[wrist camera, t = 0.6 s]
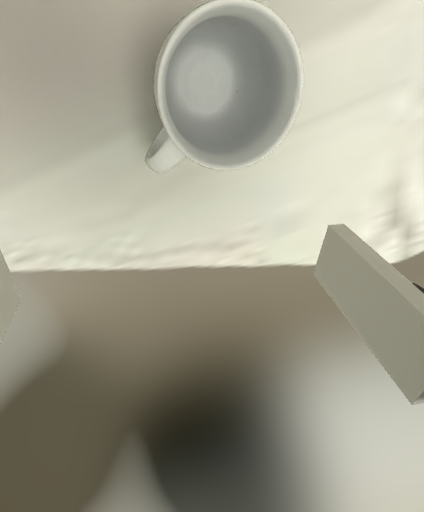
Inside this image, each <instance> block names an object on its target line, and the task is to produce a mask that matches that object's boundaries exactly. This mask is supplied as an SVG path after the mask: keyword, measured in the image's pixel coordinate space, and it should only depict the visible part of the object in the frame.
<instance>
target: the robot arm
mask: <svg viewBox="0 0 424 512" xmlns="http://www.w3.org/2000/svg"><path fill="white" fill-rule="evenodd" d="M313 274H314V275H315V277H316V278H317V280H318V281H319V282H320V284H321V285H322V286H323V288H324V289H325V290H326V292H327V293H328V294H329V295H330V297H331V298H332V300H333V301H334V302H335V304H336V305H337V306H338V307H339V309H340V310H341V312H342V313H343V314H344V315H345V317H346V318H347V320H348V321H349V322H350V323H351V325H352V326H353V327H354V329H355V330H356V331H357V333H358V334H359V335H360V337H361V338H362V339H363V341H364V342H365V343H366V345H367V346H368V347H369V348H370V350H371V351H372V353H373V354H374V355H375V357H376V358H377V359H378V361H379V362H380V363H381V365H382V366H383V367H384V368H385V370H386V371H387V373H388V374H389V375H390V376H391V378H392V379H393V380H394V382H395V383H396V384H397V386H398V387H399V388H400V389H401V391H402V392H403V394H404V395H405V396H406V398H407V399H408V400H409V402H410V403H411V404H412V405H415V404H419V403H424V289H423V288H422V287H420V286H418V285H416V284H415V283H411V282H410V281H409V280H407V279H406V278H405V277H404V276H403V275H402V274H401V273H400V272H398V271H397V270H396V269H395V268H394V267H393V266H391V265H390V264H389V263H388V262H387V261H386V260H385V259H383V258H382V257H381V256H380V255H379V254H378V253H377V252H375V251H374V250H373V249H372V248H371V247H370V246H369V245H367V244H366V243H365V242H364V241H363V240H362V239H361V238H359V237H358V236H357V235H356V234H355V233H354V232H353V231H351V230H350V229H349V228H348V227H347V226H346V225H344V224H339V225H328V229H327V232H326V235H325V238H324V241H323V244H322V248H321V251H320V254H319V257H318V260H317V264H316V267H315V270H314V273H313ZM21 300H22V298H21V296H20V294H19V292H18V289H17V287H16V285H15V282H14V280H13V278H12V276H11V273H10V271H9V269H8V266H7V264H6V262H5V259H4V257H3V255H2V253H1V250H0V343H1V341H2V339H3V337H4V334H5V333H6V331H7V329H8V327H9V325H10V322H11V320H12V318H13V316H14V314H15V312H16V310H17V308H18V306H19V304H20V302H21Z"/></svg>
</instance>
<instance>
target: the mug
mask: <svg viewBox="0 0 424 512" xmlns="http://www.w3.org/2000/svg"><path fill="white" fill-rule="evenodd" d="M303 85H304V73H303V64H302V58H301V54H300V51H299V48H298V45H297V42H296V40H295V38H294V36H293V34H292V32H291V30H290V29H289V27H288V26H287V24H286V23H285V22H284V21H283V19H282V18H281V17H280V16H279V15H278V14H277V13H276V12H274V11H273V10H272V9H270V8H269V7H267V6H266V5H264V4H262V3H260V2H258V1H255V0H212V1H209V2H207V3H205V4H203V5H201V6H199V7H197V8H196V9H194V10H193V11H192V12H190V13H189V14H187V15H186V16H185V17H183V18H182V19H181V20H180V22H179V23H177V24H176V25H175V26H174V28H173V29H172V30H171V31H170V33H169V35H168V36H167V37H166V39H165V42H164V43H163V45H162V48H161V50H160V51H159V56H158V57H157V63H156V65H155V72H154V92H155V94H154V96H155V100H156V106H157V109H158V112H159V115H160V119H161V121H162V123H163V125H164V126H163V128H162V129H161V131H160V132H159V134H158V135H157V137H156V139H155V140H154V142H153V143H152V145H151V147H150V149H149V150H148V152H147V155H146V157H145V161H146V164H147V165H148V166H149V167H150V168H151V169H152V170H153V171H155V172H157V173H163V172H166V171H167V170H169V169H171V168H172V167H174V166H175V165H177V164H178V163H179V162H181V161H182V160H183V159H184V158H185V157H188V158H189V159H190V160H192V161H193V162H195V163H197V164H199V165H201V166H204V167H207V168H210V169H214V170H237V169H241V168H245V167H247V166H250V165H252V164H255V163H257V162H258V161H260V160H262V159H263V158H265V157H266V156H267V155H269V154H270V153H271V152H272V151H273V150H274V149H275V148H276V147H277V146H278V145H279V144H280V143H281V141H282V140H283V139H284V138H285V136H286V135H287V133H288V132H289V130H290V128H291V126H292V125H293V122H294V120H295V118H296V116H297V113H298V110H299V107H300V104H301V99H302V93H303Z"/></svg>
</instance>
